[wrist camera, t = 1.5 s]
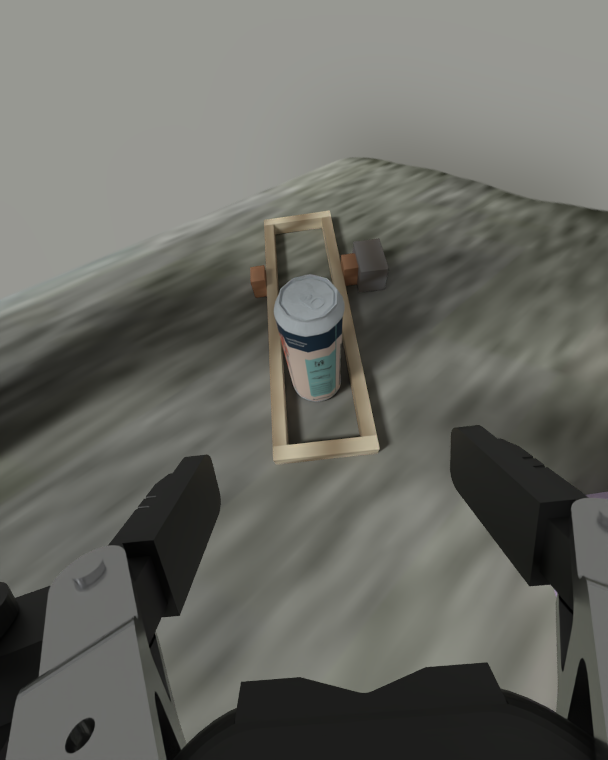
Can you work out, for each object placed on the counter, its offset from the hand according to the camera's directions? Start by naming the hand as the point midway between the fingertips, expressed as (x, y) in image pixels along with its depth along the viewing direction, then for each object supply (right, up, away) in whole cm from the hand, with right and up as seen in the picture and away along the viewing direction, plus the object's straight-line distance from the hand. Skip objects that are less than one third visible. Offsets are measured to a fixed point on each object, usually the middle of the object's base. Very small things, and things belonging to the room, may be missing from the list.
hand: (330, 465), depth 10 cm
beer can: (0, +3, +20) cm, 20 cm away
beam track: (+1, +10, +24) cm, 26 cm away
